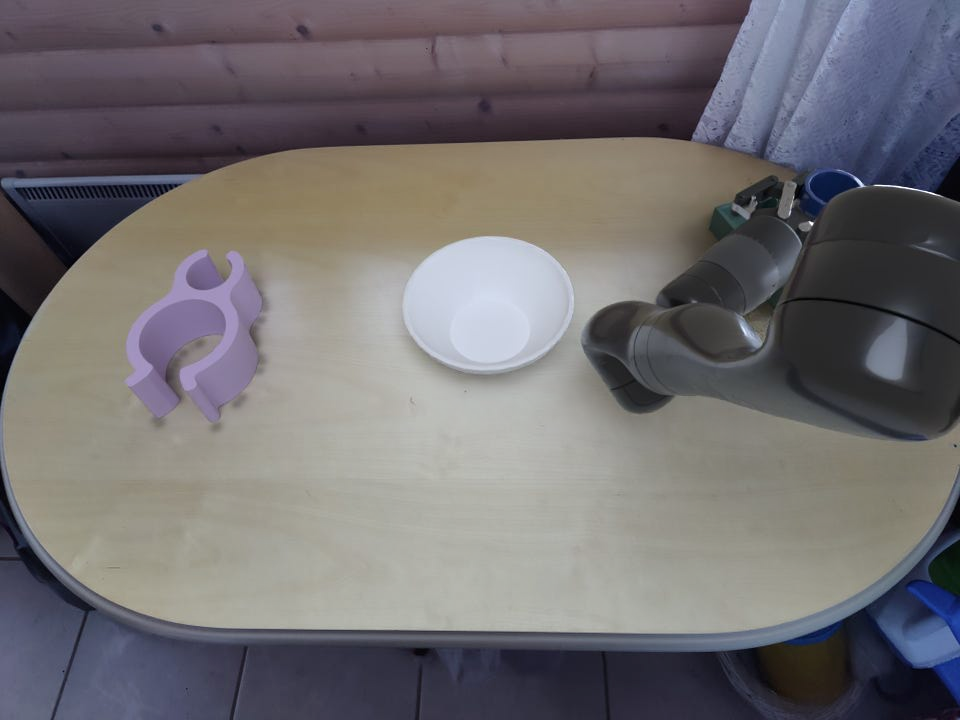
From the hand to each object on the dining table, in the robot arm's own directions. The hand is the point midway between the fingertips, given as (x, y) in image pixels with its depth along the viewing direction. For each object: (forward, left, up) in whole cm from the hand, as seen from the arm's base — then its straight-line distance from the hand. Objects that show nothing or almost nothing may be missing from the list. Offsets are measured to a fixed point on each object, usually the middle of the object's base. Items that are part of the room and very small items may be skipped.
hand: (840, 191), depth 75 cm
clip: (+59, +45, -13) cm, 75 cm away
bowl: (+30, +27, -13) cm, 42 cm away
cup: (+1, +2, -8) cm, 8 cm away
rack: (+4, 0, -13) cm, 14 cm away
